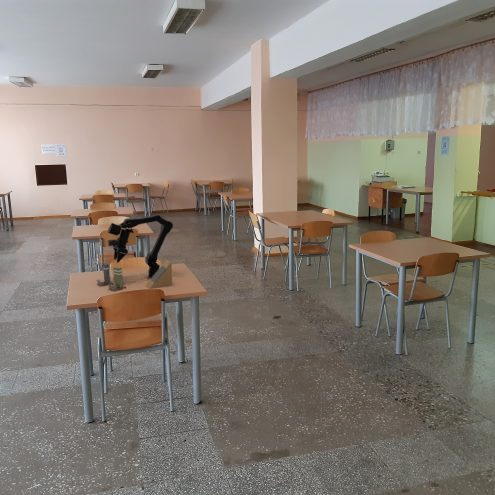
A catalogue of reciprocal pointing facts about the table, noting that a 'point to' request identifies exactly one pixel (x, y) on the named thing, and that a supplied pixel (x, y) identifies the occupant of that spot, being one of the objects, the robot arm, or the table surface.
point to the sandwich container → (161, 276)
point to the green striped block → (118, 276)
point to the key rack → (110, 285)
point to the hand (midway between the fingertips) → (115, 261)
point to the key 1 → (106, 273)
